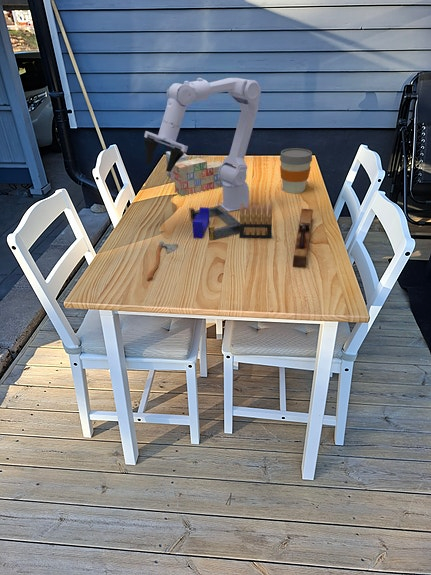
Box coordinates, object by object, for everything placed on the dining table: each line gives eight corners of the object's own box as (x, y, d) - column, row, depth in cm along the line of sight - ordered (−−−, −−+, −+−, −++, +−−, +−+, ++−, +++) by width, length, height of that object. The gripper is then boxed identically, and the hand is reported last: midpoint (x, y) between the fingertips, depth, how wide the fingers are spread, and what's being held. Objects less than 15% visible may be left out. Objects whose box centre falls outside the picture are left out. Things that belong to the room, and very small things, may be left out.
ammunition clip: (271, 236, 141) (273, 202, 135) (271, 238, 140) (273, 204, 133) (239, 235, 142) (239, 201, 136) (239, 238, 141) (239, 204, 134)
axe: (169, 281, 120) (168, 276, 119) (146, 282, 121) (145, 277, 120) (179, 244, 139) (178, 240, 138) (159, 245, 139) (159, 241, 139)
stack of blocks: (219, 181, 185) (218, 153, 179) (226, 186, 181) (226, 157, 174) (174, 192, 177) (172, 162, 170) (181, 197, 172) (179, 167, 165)
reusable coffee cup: (309, 184, 179) (312, 148, 171) (309, 195, 169) (312, 157, 161) (279, 183, 181) (281, 147, 173) (277, 194, 171) (279, 157, 163)
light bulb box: (167, 175, 194) (165, 151, 188) (181, 172, 196) (179, 149, 190) (175, 182, 186) (173, 157, 180) (189, 179, 188) (188, 155, 182)
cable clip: (197, 222, 152) (196, 206, 149) (209, 223, 151) (208, 207, 148) (189, 238, 142) (187, 221, 139) (202, 238, 141) (201, 222, 138)
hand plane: (310, 269, 124) (314, 238, 118) (292, 268, 125) (294, 237, 119) (311, 219, 151) (314, 192, 146) (296, 218, 152) (298, 192, 147)
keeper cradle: (218, 213, 158) (218, 201, 155) (242, 232, 144) (242, 220, 141) (189, 219, 153) (188, 208, 151) (210, 240, 140) (210, 227, 137)
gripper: (145, 114, 130) (132, 158, 133) (186, 129, 126) (172, 174, 130) (155, 119, 136) (143, 160, 140) (195, 133, 133) (181, 175, 137)
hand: (158, 167), depth 135 cm, fingers open, 7 cm apart
